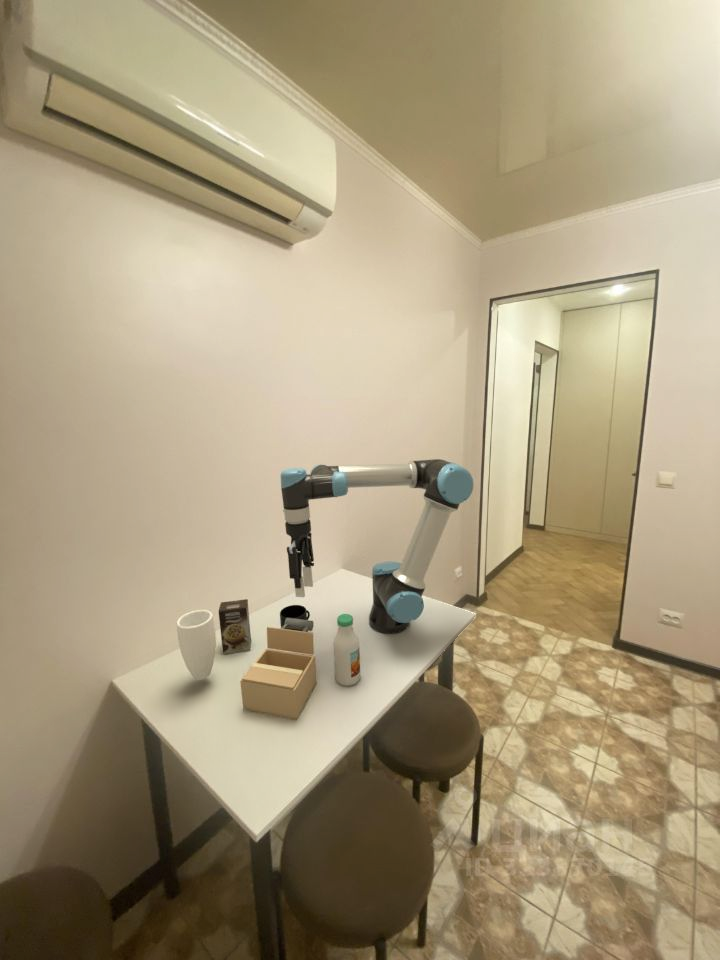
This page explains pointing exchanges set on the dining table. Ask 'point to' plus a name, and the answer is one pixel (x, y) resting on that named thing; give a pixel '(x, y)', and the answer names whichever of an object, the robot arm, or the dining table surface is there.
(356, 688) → the dining table surface
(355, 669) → the milk bottle
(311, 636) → the flap near
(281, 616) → the mug
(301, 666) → the carton
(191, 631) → the cup
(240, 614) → the coffee box
